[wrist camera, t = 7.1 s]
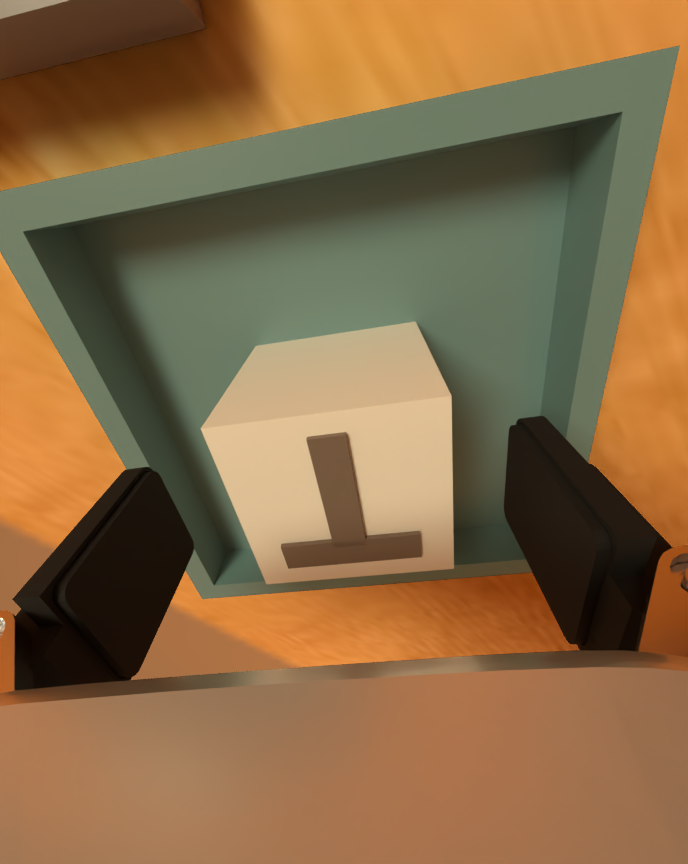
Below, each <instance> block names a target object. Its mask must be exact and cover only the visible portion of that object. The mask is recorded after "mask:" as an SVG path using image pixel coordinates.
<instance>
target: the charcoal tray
mask: <svg viewBox="0 0 688 864" xmlns="http://www.w3.org/2000/svg"><path fill="white" fill-rule="evenodd" d="M202 29H206V25H205V21H204V18H203V14H202V10H201V6H200V2H199V0H0V80H1V79H5V78H9V77H13V76H17V75H21V74H25V73H29V72H33V71H37V70H41V69H45V68H49V67H53V66H57V65H61V64H65V63H69V62H73V61H77V60H81V59H85V58H89V57H93V56H97V55H101V54H105V53H109V52H113V51H117V50H122V49H126V48H130V47H134V46H138V45H142V44H146V43H150V42H154V41H158V40H162V39H166V38H170V37H174V36H178V35H182V34H186V33H190V32H194V31H198V30H202Z"/></svg>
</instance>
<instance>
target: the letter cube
mask: <svg viewBox="0 0 688 864" xmlns="http://www.w3.org/2000/svg"><path fill="white" fill-rule="evenodd" d="M201 431H202V433H203V436H204V438H205V440H206V443H207V445H208V447H209V450H210V452H211V455H212V457H213V459H214V462H215V464H216V466H217V469H218V471H219V473H220V476H221V478H222V481H223V483H224V485H225V488H226V490H227V492H228V495H229V497H230V499H231V502H232V504H233V506H234V509H235V511H236V514H237V516H238V518H239V521H240V523H241V525H242V528H243V530H244V532H245V535H246V537H247V540H248V542H249V544H250V547H251V549H252V551H253V554H254V556H255V558H256V561H257V563H258V565H259V568H260V570H261V573H262V575H263V577H264V580H265V582H266V584H277V583H289V582H301V581H313V580H325V579H337V578H349V577H361V576H373V575H385V574H397V573H409V572H421V571H433V570H445V569H454V533H453V463H452V396H451V394H450V392H449V390H448V388H447V386H446V383H445V381H444V379H443V377H442V375H441V373H440V371H439V369H438V367H437V365H436V363H435V361H434V359H433V357H432V354H431V352H430V350H429V348H428V346H427V344H426V342H425V340H424V338H423V336H422V334H421V332H420V330H419V327H418V325H417V323H416V322H409V323H402V324H396V325H389V326H383V327H376V328H370V329H363V330H357V331H350V332H344V333H337V334H331V335H324V336H318V337H311V338H304V339H298V340H291V341H285V342H278V343H272V344H265V345H259V346H255V348H254V349H253V351H252V352H251V354H250V355H249V357H248V358H247V360H246V361H245V363H244V364H243V366H242V367H241V369H240V370H239V372H238V373H237V375H236V376H235V378H234V379H233V381H232V382H231V384H230V385H229V387H228V388H227V390H226V391H225V393H224V394H223V396H222V397H221V399H220V400H219V402H218V403H217V405H216V406H215V408H214V409H213V411H212V412H211V414H210V415H209V417H208V418H207V420H206V421H205V423H204V424H203V426H202V427H201Z"/></svg>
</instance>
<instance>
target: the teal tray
mask: <svg viewBox="0 0 688 864" xmlns="http://www.w3.org/2000/svg"><path fill="white" fill-rule="evenodd" d="M678 51H679V46H675V47H671V48H666V49H661V50H657V51H652V52H647V53H643V54H638V55H633V56H629V57H624V58H619V59H615V60H610V61H605V62H601V63H596V64H591V65H587V66H582V67H577V68H573V69H568V70H563V71H559V72H554V73H549V74H545V75H540V76H535V77H531V78H526V79H521V80H517V81H512V82H507V83H503V84H498V85H493V86H489V87H484V88H479V89H475V90H470V91H465V92H461V93H456V94H451V95H447V96H442V97H437V98H433V99H428V100H423V101H419V102H414V103H409V104H405V105H400V106H395V107H391V108H386V109H381V110H377V111H372V112H367V113H363V114H358V115H353V116H349V117H344V118H339V119H335V120H330V121H325V122H321V123H316V124H311V125H307V126H302V127H297V128H293V129H288V130H283V131H279V132H274V133H269V134H265V135H260V136H255V137H251V138H246V139H241V140H237V141H232V142H227V143H223V144H218V145H213V146H209V147H204V148H199V149H195V150H190V151H185V152H181V153H176V154H171V155H167V156H162V157H157V158H153V159H148V160H143V161H139V162H134V163H129V164H125V165H120V166H115V167H111V168H106V169H101V170H97V171H92V172H87V173H83V174H78V175H73V176H69V177H64V178H59V179H55V180H50V181H45V182H41V183H36V184H31V185H27V186H22V187H17V188H13V189H8V190H3V191H0V252H1V254H2V256H3V258H4V259H5V261H6V263H7V264H8V266H9V268H10V270H11V271H12V273H13V275H14V276H15V278H16V280H17V282H18V283H19V285H20V287H21V289H22V290H23V292H24V294H25V295H26V297H27V299H28V301H29V302H30V304H31V306H32V307H33V309H34V311H35V313H36V314H37V316H38V318H39V319H40V321H41V323H42V325H43V326H44V328H45V330H46V331H47V333H48V335H49V337H50V338H51V340H52V342H53V343H54V345H55V347H56V349H57V350H58V352H59V354H60V355H61V357H62V359H63V361H64V362H65V364H66V366H67V367H68V369H69V371H70V373H71V374H72V376H73V378H74V380H75V381H76V383H77V385H78V386H79V388H80V390H81V392H82V393H83V395H84V397H85V398H86V400H87V402H88V404H89V405H90V407H91V409H92V410H93V412H94V414H95V416H96V417H97V419H98V421H99V422H100V424H101V426H102V428H103V429H104V431H105V433H106V434H107V436H108V438H109V440H110V441H111V443H112V445H113V446H114V448H115V450H116V452H117V453H118V455H119V457H120V459H121V460H122V462H123V464H124V465H125V467H126V469H133V468H141V467H150V468H151V469H152V470H153V471H156V472H158V473H159V475H160V476H161V478H162V480H163V482H164V484H165V486H166V488H167V490H168V492H169V494H170V496H171V498H172V500H173V502H174V504H175V506H176V508H177V510H178V512H179V514H180V516H181V518H182V519H183V521H184V523H185V525H186V527H187V529H188V531H189V533H190V535H191V537H192V539H193V542H194V551H193V554H192V556H191V559H190V561H189V563H188V565H187V567H186V572H187V574H188V575H189V577H190V579H191V580H192V582H193V584H194V586H195V587H196V589H197V591H198V592H199V594H200V596H201V598H202V599H209V598H222V597H234V596H247V595H259V594H271V593H284V592H296V591H309V590H321V589H334V588H346V587H359V586H371V585H384V584H396V583H408V582H421V581H433V580H446V579H458V578H471V577H483V576H496V575H508V574H521V573H533V572H532V570H531V568H530V566H529V564H528V562H527V560H526V558H525V556H524V554H523V552H522V550H521V548H520V546H519V544H518V542H517V540H516V538H515V536H514V534H513V532H512V530H511V528H510V526H509V524H508V522H507V520H506V517H505V513H504V494H505V480H506V465H507V450H508V436H509V428H510V426H511V425H516V422H517V420H518V419H520V418H528V417H536V416H544V417H546V418H547V419H548V420H549V421H550V422H551V424H552V425H553V426H554V427H555V428H556V429H557V430H558V431H559V432H560V433H561V434H562V435H563V436H564V437H565V439H566V440H567V441H568V442H569V443H570V444H571V445H572V446H573V447H574V448H575V449H576V450H577V451H578V452H579V454H580V455H581V456H582V457H583V458H584V459H585V460H586V461H587V462H588V461H589V456H590V452H591V447H592V443H593V438H594V434H595V429H596V425H597V420H598V415H599V411H600V406H601V402H602V397H603V393H604V388H605V384H606V379H607V374H608V370H609V365H610V361H611V356H612V352H613V347H614V343H615V338H616V333H617V329H618V324H619V320H620V315H621V311H622V306H623V302H624V297H625V292H626V288H627V283H628V279H629V274H630V270H631V265H632V261H633V256H634V251H635V247H636V242H637V238H638V233H639V229H640V224H641V220H642V215H643V210H644V206H645V201H646V197H647V192H648V188H649V183H650V179H651V174H652V169H653V165H654V160H655V156H656V151H657V147H658V142H659V138H660V133H661V128H662V124H663V119H664V115H665V110H666V106H667V101H668V97H669V92H670V87H671V83H672V78H673V74H674V69H675V65H676V60H677V55H678ZM409 322H416V323H417V325H418V327H419V330H420V332H421V334H422V336H423V338H424V340H425V342H426V344H427V346H428V348H429V350H430V352H431V354H432V357H433V359H434V361H435V363H436V365H437V367H438V369H439V371H440V373H441V375H442V377H443V379H444V381H445V383H446V386H447V388H448V390H449V392H450V394H451V396H452V463H453V533H454V569H445V570H433V571H421V572H409V573H397V574H385V575H373V576H361V577H349V578H337V579H325V580H313V581H301V582H289V583H277V584H266V582H265V580H264V577H263V575H262V573H261V570H260V568H259V565H258V563H257V561H256V558H255V556H254V554H253V551H252V549H251V547H250V544H249V542H248V540H247V537H246V535H245V532H244V530H243V528H242V525H241V523H240V521H239V518H238V516H237V514H236V511H235V509H234V506H233V504H232V502H231V499H230V497H229V495H228V492H227V490H226V488H225V485H224V483H223V481H222V478H221V476H220V473H219V471H218V469H217V466H216V464H215V462H214V459H213V457H212V455H211V452H210V450H209V447H208V445H207V443H206V440H205V438H204V436H203V433H202V431H201V427H202V426H203V424H204V423H205V421H206V420H207V418H208V417H209V415H210V414H211V412H212V411H213V409H214V408H215V406H216V405H217V403H218V402H219V400H220V399H221V397H222V396H223V394H224V393H225V391H226V390H227V388H228V387H229V385H230V384H231V382H232V381H233V379H234V378H235V376H236V375H237V373H238V372H239V370H240V369H241V367H242V366H243V364H244V363H245V361H246V360H247V358H248V357H249V355H250V354H251V352H252V351H253V349H254V348H255V346H259V345H265V344H272V343H278V342H285V341H291V340H298V339H304V338H311V337H318V336H324V335H331V334H337V333H344V332H350V331H357V330H363V329H370V328H376V327H383V326H389V325H396V324H402V323H409Z"/></svg>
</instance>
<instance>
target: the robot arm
mask: <svg viewBox="0 0 688 864" xmlns="http://www.w3.org/2000/svg"><path fill="white" fill-rule="evenodd" d="M504 513H505V517H506V520H507V522H508V524H509V526H510V528H511V530H512V532H513V534H514V536H515V538H516V540H517V542H518V544H519V546H520V548H521V550H522V552H523V554H524V556H525V558H526V560H527V562H528V564H529V566H530V568H531V570H532V572H533V574H534V576H535V578H536V580H537V582H538V584H539V586H540V588H541V590H542V592H543V594H544V596H545V598H546V600H547V602H548V604H549V606H550V608H551V610H552V612H553V614H554V616H555V618H556V620H557V622H558V624H559V626H560V628H561V630H562V632H563V634H564V636H565V638H566V640H567V641H568V642H569V643H570V644H577V645H578V647H579V649H580V651H555V652H535V653H515V654H495V655H477V656H462V657H447V658H432V659H417V660H402V661H387V662H372V663H357V664H343V665H329V666H315V667H301V668H287V669H274V670H260V671H246V672H232V673H219V674H206V675H192V676H180V677H167V678H154V679H141V680H131V678H132V677H133V676H134V675H136V673H138V671H139V669H140V667H141V665H142V663H143V661H144V659H145V657H146V654H147V652H148V650H149V648H150V646H151V644H152V641H153V639H154V637H155V635H156V633H157V631H158V628H159V626H160V624H161V622H162V620H163V617H164V615H165V613H166V611H167V609H168V607H169V604H170V602H171V600H172V598H173V596H174V594H175V591H176V589H177V587H178V585H179V583H180V580H181V578H182V576H183V574H184V572H185V570H186V567H187V565H188V563H189V561H190V559H191V556H192V554H193V551H194V542H193V539H192V537H191V535H190V533H189V531H188V529H187V527H186V525H185V523H184V521H183V519H182V518H181V516H180V514H179V512H178V510H177V508H176V506H175V504H174V502H173V500H172V498H171V496H170V494H169V492H168V490H167V488H166V486H165V484H164V482H163V480H162V478H161V476H160V475H159V473H158V472H156V471H153V470H152V469H151V468H150V467H141V468H133V469H127V470H125V471H123V472H122V473H121V475H120V476H119V477H118V478H117V479H116V480H115V482H114V483H113V484H112V485H111V486H110V487H109V488H108V490H107V491H106V492H105V493H104V494H103V495H102V497H101V498H100V499H99V500H98V501H97V502H96V503H95V505H94V506H93V507H92V508H91V509H90V510H89V511H88V513H87V514H86V515H85V516H84V517H83V518H82V520H81V521H80V522H79V523H78V524H77V525H76V526H75V528H74V529H73V530H72V531H71V532H70V533H69V535H68V536H67V537H66V538H65V539H64V540H63V541H62V543H61V544H60V545H59V546H58V547H57V548H56V550H55V551H54V552H53V553H52V554H51V555H50V557H49V558H48V559H47V560H46V561H45V562H44V563H43V565H42V566H41V567H40V568H39V569H38V570H37V571H36V573H35V574H34V575H33V576H32V578H30V580H29V581H28V582H27V583H26V584H25V585H24V586H23V588H22V589H21V590H20V591H19V592H18V593H17V595H16V596H15V597H14V598H13V600H14V601H15V603H17V605H18V606H19V607H20V608H21V610H20V611H19V613H18V614H17V615H16V616H15V615H14V614H12V613H11V612H9V611H0V864H688V546H680V547H674V548H672V547H671V546H670V545H669V544H668V543H667V542H666V541H665V539H664V538H663V537H662V536H661V535H660V534H659V533H658V532H657V531H656V530H655V529H654V528H653V527H652V526H651V525H650V524H649V523H648V522H647V521H646V519H645V518H644V517H643V516H642V515H641V514H640V513H639V512H638V511H637V510H636V509H635V508H634V507H633V506H632V505H631V504H630V503H629V502H628V500H627V499H626V498H625V497H624V496H623V495H622V494H621V493H620V492H619V491H618V490H617V489H616V488H615V487H614V486H613V485H612V484H611V483H610V482H609V480H608V479H607V478H606V477H605V476H604V475H603V474H602V473H601V472H600V471H599V470H598V469H597V468H596V467H595V466H593V465H592V464H589V463H588V462H587V461H586V460H585V459H584V458H583V457H582V456H581V455H580V454H579V452H578V451H577V450H576V449H575V448H574V447H573V446H572V445H571V444H570V443H569V442H568V441H567V440H566V439H565V437H564V436H563V435H562V434H561V433H560V432H559V431H558V430H557V429H556V428H555V427H554V426H553V425H552V424H551V422H550V421H549V420H548V419H547V418H546V417H544V416H536V417H528V418H520V419H518V420H517V422H516V425H511V426H510V428H509V436H508V450H507V465H506V480H505V494H504Z"/></svg>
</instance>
